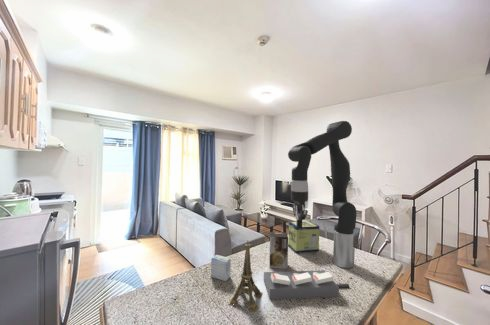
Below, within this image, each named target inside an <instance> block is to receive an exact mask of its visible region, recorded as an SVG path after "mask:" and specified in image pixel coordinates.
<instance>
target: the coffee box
mask: <svg viewBox="0 0 490 325" xmlns="http://www.w3.org/2000/svg"><path fill="white" fill-rule="evenodd" d="M288 241H289V234H288V232H278V231H270V232H269V261H268V263H269V264H268V267H269V268H270V269H283V270H288V267H289V266H288V263H289V262H288V261H289V259H288V257H289V252H288V251H289V246H288Z"/></svg>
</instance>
